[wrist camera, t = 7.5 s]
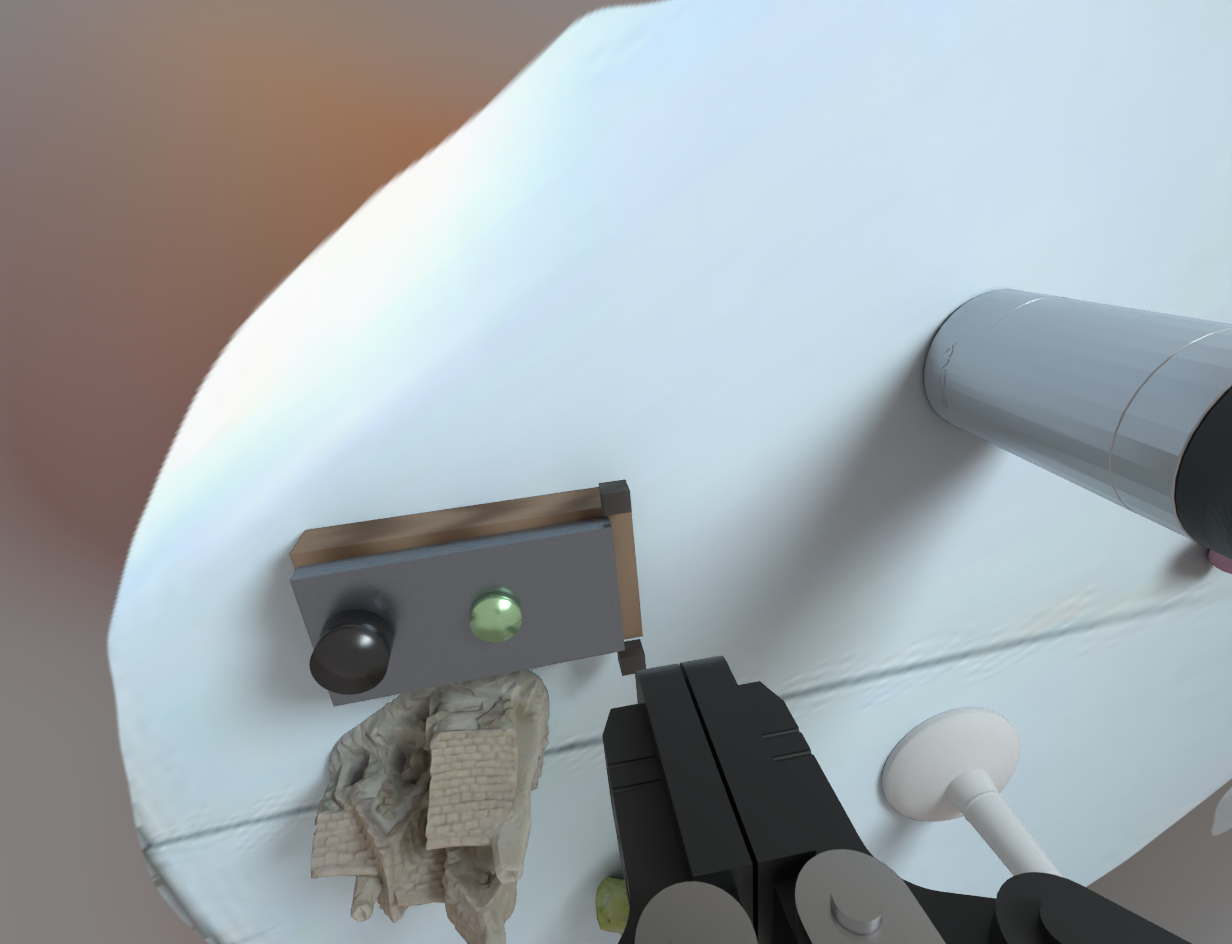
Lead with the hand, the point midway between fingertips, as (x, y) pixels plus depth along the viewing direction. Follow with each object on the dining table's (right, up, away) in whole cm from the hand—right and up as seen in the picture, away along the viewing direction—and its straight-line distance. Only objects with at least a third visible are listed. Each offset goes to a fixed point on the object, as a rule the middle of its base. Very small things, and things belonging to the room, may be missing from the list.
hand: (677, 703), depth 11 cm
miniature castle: (-14, -16, +37) cm, 42 cm away
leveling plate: (-10, -4, +28) cm, 30 cm away
